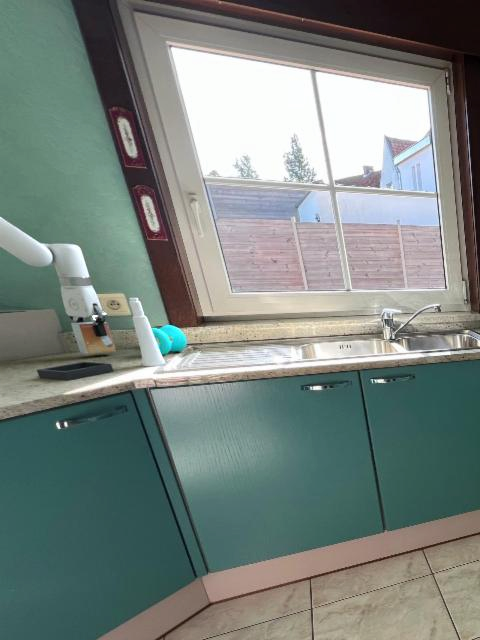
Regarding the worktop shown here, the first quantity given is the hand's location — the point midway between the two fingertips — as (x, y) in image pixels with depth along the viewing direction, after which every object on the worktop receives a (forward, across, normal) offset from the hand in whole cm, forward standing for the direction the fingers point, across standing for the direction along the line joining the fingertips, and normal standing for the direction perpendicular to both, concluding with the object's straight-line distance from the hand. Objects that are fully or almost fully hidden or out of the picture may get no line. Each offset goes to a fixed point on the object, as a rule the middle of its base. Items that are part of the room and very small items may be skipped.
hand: (93, 335), depth 174 cm
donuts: (+8, +14, +13) cm, 21 cm away
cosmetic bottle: (+8, +28, -4) cm, 30 cm away
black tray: (+8, +21, -22) cm, 32 cm away
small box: (+6, 0, 0) cm, 6 cm away
